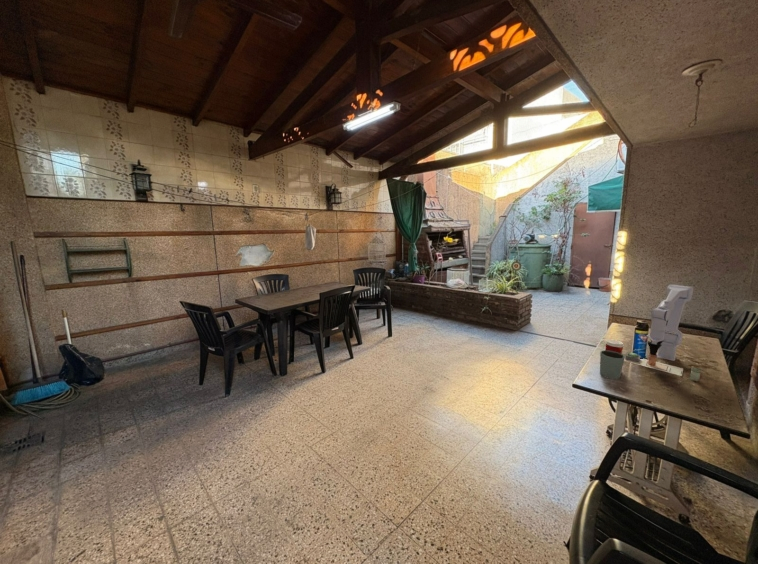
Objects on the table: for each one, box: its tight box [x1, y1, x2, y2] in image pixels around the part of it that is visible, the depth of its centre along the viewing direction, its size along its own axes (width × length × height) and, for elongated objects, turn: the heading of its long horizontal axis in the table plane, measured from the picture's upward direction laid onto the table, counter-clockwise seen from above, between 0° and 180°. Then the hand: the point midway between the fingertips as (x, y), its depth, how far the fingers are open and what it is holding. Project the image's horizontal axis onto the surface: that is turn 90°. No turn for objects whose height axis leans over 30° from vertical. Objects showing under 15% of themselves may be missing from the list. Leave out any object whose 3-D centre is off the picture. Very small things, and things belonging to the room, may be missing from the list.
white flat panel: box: [624, 358, 684, 378], centre depth 164 cm, size 12×24×1 cm, turn 41°
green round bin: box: [599, 350, 626, 380], centre depth 153 cm, size 10×10×12 cm
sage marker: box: [689, 367, 702, 383], centre depth 147 cm, size 3×3×6 cm
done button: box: [628, 352, 638, 358], centre depth 170 cm, size 4×4×2 cm
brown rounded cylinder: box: [647, 353, 658, 366], centre depth 163 cm, size 3×3×6 cm
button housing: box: [624, 352, 642, 363], centre depth 170 cm, size 6×6×2 cm
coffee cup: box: [604, 339, 625, 355], centre depth 161 cm, size 8×8×15 cm
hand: (653, 352), depth 162 cm, fingers open, 7 cm apart
